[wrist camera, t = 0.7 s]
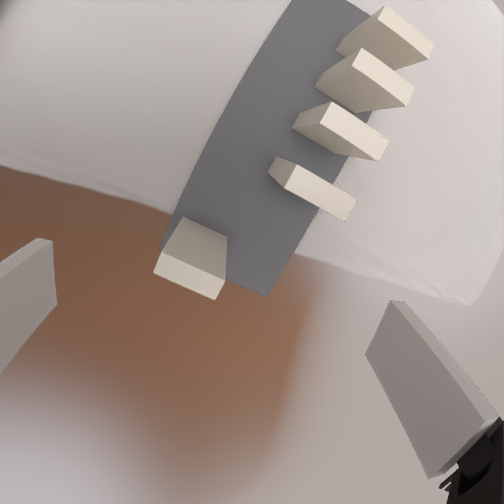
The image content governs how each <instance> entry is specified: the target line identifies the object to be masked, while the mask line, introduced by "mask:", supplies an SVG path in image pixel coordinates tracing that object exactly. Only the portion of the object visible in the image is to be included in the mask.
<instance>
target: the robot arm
mask: <svg viewBox="0 0 504 504" xmlns="http://www.w3.org/2000/svg"><path fill="white" fill-rule="evenodd" d="M56 305H57V298H56V288H55V277H54V262H53V241H50V240H46V239H41V238H36V239H35V240H33V241H32V242H30V243H28V244H27V245H25V246H24V247H22V248H21V249H19V250H18V251H16V252H15V253H13V254H12V255H10V256H9V257H7V258H6V259H4V260H3V261H1V262H0V374H1V373H2V372H3V370H4V369H5V368H6V366H7V365H8V364H9V362H10V361H11V359H12V358H13V357H14V356H15V354H16V353H17V352H18V351H19V349H20V348H21V347H22V345H23V344H24V343H25V342H26V340H27V339H28V338H29V337H30V336H31V334H32V333H33V332H34V331H35V330H36V328H37V327H38V326H39V325H40V324H41V322H42V321H43V320H44V319H45V318H46V317H47V315H48V314H49V313H50V312H51V311H52V310H53V308H54V307H55V306H56ZM365 355H366V357H367V359H368V361H369V363H370V364H371V366H372V368H373V370H374V372H375V374H376V375H377V377H378V379H379V381H380V383H381V385H382V386H383V388H384V390H385V392H386V394H387V396H388V398H389V400H390V402H391V404H392V406H393V408H394V409H395V412H396V414H397V415H398V417H399V419H400V421H401V423H402V425H403V427H404V429H405V431H406V433H407V435H408V437H409V439H410V441H411V444H412V446H413V448H414V450H415V452H416V454H417V456H418V458H419V460H420V462H421V464H422V466H423V469H424V471H425V473H426V475H427V477H428V479H430V478H433V477H436V476H439V475H441V474H444V473H446V472H447V471H448V470H449V469H450V468H451V467H452V466H453V465H454V464H455V463H456V462H457V464H458V466H459V468H458V469H457V470H456V471H455V472H454V473H453V474H452V475H450V476H449V477H448V478H447V479H446V480H445V481H444V482H442V483H441V484H440V486H439V488H440V489H442V488H443V487H444V486H445V485H447V484H448V483H449V482H451V484H450V485H449V486H448V487H447V488H446V489H445V491H448V492H449V496H448V500H447V504H504V421H502V420H501V418H500V417H499V415H498V414H497V413H496V411H495V410H494V409H493V407H492V406H491V405H490V403H489V402H488V401H487V399H486V398H485V397H484V395H483V394H482V393H481V392H480V390H479V389H478V387H477V386H476V385H475V384H474V382H473V381H472V380H471V379H470V377H469V376H468V375H467V374H466V372H465V371H464V370H463V369H462V367H461V366H460V365H459V364H458V363H457V361H456V360H455V359H454V358H453V357H452V355H451V354H450V353H449V352H448V351H447V349H446V348H445V347H444V346H443V345H442V343H441V342H440V341H439V340H438V339H437V338H436V336H435V335H434V334H433V333H432V332H431V331H430V330H429V328H428V327H427V326H426V325H425V324H424V323H423V322H422V321H421V319H419V317H418V316H417V315H416V314H415V313H414V312H413V311H412V309H411V308H410V307H409V306H408V305H407V304H406V303H405V302H401V301H394V300H390V302H389V304H388V306H387V309H386V311H385V313H384V315H383V318H382V320H381V322H380V324H379V326H378V328H377V331H376V333H375V335H374V337H373V339H372V341H371V343H370V345H369V348H368V349H367V351H366V353H365Z"/></svg>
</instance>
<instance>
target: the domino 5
mask: <svg viewBox="0 0 504 504" xmlns="http://www.w3.org/2000/svg"><path fill="white" fill-rule="evenodd" d="M268 173H269V174H270V175H271V176H272V177H273V178H274V179H275V180H276V181H277V182H278V183H279V184H280V185H281V186H282V187H283V188H285V189H287V190H289V191H290V192H292V193H294V194H296V195H298V196H300V197H302V198H303V199H305V200H307V201H309V202H311V203H312V204H314V205H316V206H318V207H320V208H321V209H323V210H325V211H327V212H328V213H330V214H332V215H334V216H335V217H337V218H339V219H341V220H342V221H344V222H345V220H346V219H347V217H348V215H349V213H350V212H351V210H352V208H353V206H354V205H355V203H356V201H357V200H356V199H355V198H353V197H352V196H350V195H348V194H347V193H345V192H343V191H342V190H340V189H339V188H337V187H335V186H334V185H332V184H330V183H329V182H327V181H325V180H323V179H322V178H320V177H318V176H317V175H315V174H313V173H311V172H310V171H308V170H306V169H304V168H303V167H301V166H299V165H297V164H295V163H292V162H290V161H287V160H285V159H282V158H279V157H277V156H276V157H275V159H274V161H273V162H272V164H271V166H270V168H269V170H268Z"/></svg>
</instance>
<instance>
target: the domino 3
mask: <svg viewBox="0 0 504 504" xmlns="http://www.w3.org/2000/svg"><path fill="white" fill-rule="evenodd" d="M315 88H317V89H318V90H320V91H322V92H323V93H325V94H327V95H328V96H330V97H331V98H333V99H335V100H336V101H338V102H339V103H341V104H342V105H344V106H345V107H347V108H349V109H350V110H352V111H353V112H355V113H360V112H367V111H373V110H380V109H388V108H395V107H404V106H407V104H408V102H409V100H410V98H411V96H412V94H413V92H414V90H415V88H414V87H413V86H412V85H411V84H410V83H408V82H407V81H406V80H405V79H404V78H402V77H401V76H400V75H399V74H397V73H396V72H395V71H393V70H392V69H391V68H389V67H388V66H387V65H385V64H384V63H383V62H381V61H380V60H379V59H377V58H376V57H375V56H373V55H372V54H370V53H369V52H367V51H366V50H364V49H363V48H360V49H359V50H357V51H355V52H354V53H352V54H351V55H349V56H348V57H346V58H344V59H343V60H341V61H340V62H338V63H337V64H335V65H334V66H332V67H331V68H329V69H328V70H326V71H325V72H323V73H322V74H321V76H320V78H319V80H318V81H317V83H316V85H315Z"/></svg>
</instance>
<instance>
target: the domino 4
mask: <svg viewBox="0 0 504 504" xmlns="http://www.w3.org/2000/svg"><path fill="white" fill-rule="evenodd" d="M292 129H293V130H295V131H297V132H299V133H300V134H302V135H304V136H306V137H307V138H309V139H311V140H313V141H314V142H316V143H318V144H319V145H321V146H323V147H324V148H326V149H328V150H329V151H331V152H332V153H335V154H341V155H346V156H352V157H357V158H362V159H368V160H373V161H377V162H378V161H379V159H380V158H381V156H382V154H383V152H384V150H385V148H386V146H387V144H388V142H389V140H387V139H386V138H385V137H383V136H382V135H381V134H379V133H378V132H377V131H375V130H374V129H372V128H371V127H370V126H368V125H367V124H365V123H364V122H363V121H361V120H360V119H358V118H357V117H355V116H354V115H352V114H351V113H349V112H348V111H346V110H345V109H343V108H342V107H340V106H338V105H337V104H335V103H334V102H332V101H331V102H328V103H326V104H323V105H320V106H317V107H315V108H312V109H309V110H306V111H304V112H301V113H299V115H298V117H297V119H296V121H295V122H294V124H293V126H292Z"/></svg>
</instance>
